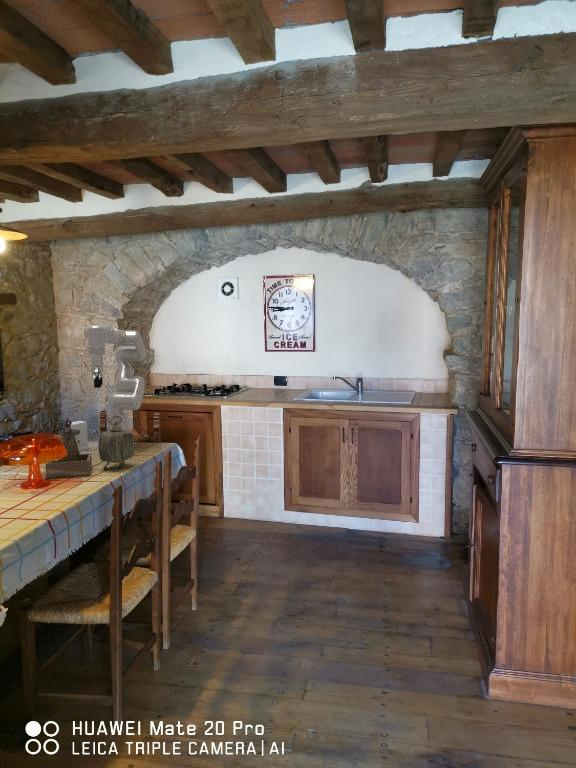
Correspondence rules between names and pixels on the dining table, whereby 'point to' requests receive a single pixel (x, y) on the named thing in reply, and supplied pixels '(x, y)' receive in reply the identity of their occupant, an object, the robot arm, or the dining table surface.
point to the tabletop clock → (116, 445)
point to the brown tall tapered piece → (69, 444)
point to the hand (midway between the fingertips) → (98, 386)
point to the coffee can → (77, 436)
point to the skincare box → (81, 433)
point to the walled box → (69, 468)
